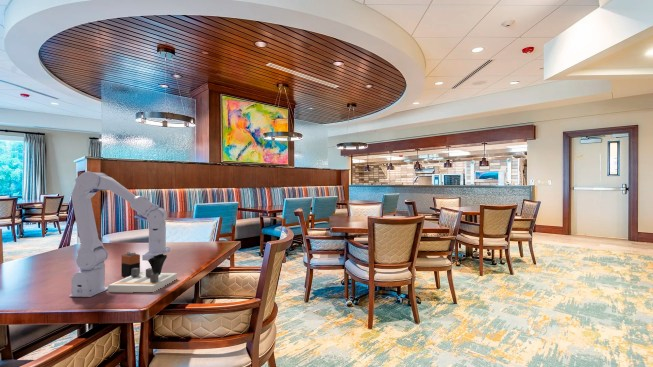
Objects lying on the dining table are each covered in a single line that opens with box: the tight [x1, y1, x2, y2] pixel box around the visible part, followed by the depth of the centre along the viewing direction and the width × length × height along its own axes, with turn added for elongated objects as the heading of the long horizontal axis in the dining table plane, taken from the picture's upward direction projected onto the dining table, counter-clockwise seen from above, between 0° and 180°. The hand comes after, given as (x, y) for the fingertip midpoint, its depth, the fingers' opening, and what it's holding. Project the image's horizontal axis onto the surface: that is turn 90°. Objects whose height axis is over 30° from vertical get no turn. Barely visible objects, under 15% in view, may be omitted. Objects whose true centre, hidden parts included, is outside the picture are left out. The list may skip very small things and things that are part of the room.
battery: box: [120, 251, 141, 278], centre depth 130 cm, size 4×7×10 cm, turn 63°
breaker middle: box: [145, 267, 153, 277], centre depth 120 cm, size 2×2×3 cm
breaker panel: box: [107, 272, 178, 293], centre depth 117 cm, size 16×17×3 cm
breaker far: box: [131, 268, 139, 276], centre depth 121 cm, size 2×2×3 cm
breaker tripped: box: [150, 273, 159, 282], centre depth 114 cm, size 2×2×3 cm
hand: (156, 274), depth 115 cm, fingers closed
